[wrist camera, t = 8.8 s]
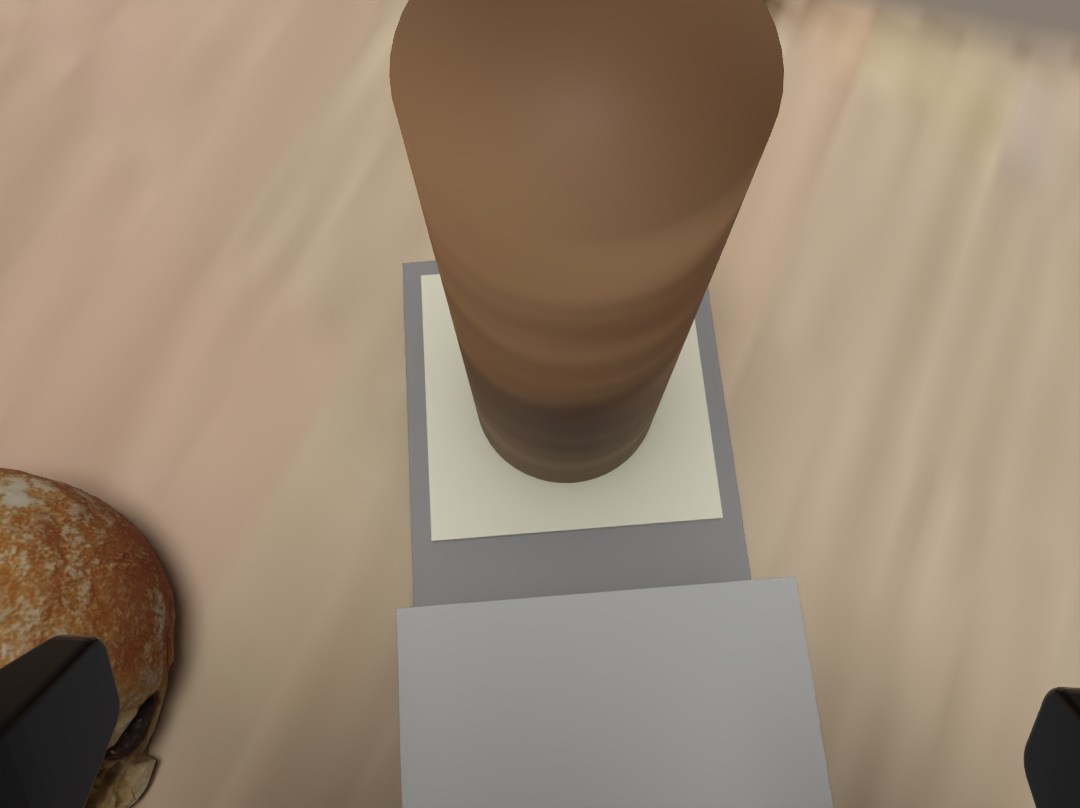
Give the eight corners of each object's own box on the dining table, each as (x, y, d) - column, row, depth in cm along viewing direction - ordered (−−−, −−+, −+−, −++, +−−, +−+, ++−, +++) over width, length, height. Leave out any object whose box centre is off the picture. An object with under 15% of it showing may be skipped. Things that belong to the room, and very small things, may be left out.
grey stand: (819, 1116, 18) (956, 1336, 12) (438, 1149, 18) (381, 1388, 12) (694, 258, 24) (743, 113, 18) (408, 279, 24) (359, 141, 18)
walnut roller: (576, 521, 21) (613, 319, 9) (438, 404, 22) (308, 81, 10) (691, 385, 22) (862, 42, 10) (554, 279, 23) (562, -151, 11)
